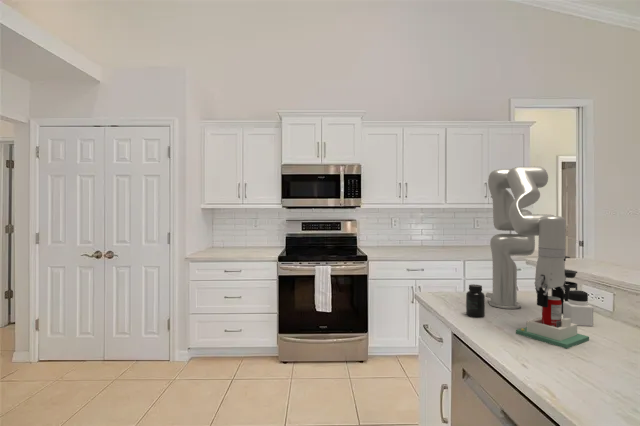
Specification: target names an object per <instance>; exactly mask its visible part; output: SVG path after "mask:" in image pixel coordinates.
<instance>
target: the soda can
mask: <svg viewBox="0 0 640 426" xmlns="http://www.w3.org/2000/svg"><path fill="white" fill-rule="evenodd" d="M562 315H563V314H562V303H561V298H558V297H553V296H551V295H548V307H542V306H541V317H542V324H545V325H549V326H553V327H557V328H558V327H561V321H562Z"/></svg>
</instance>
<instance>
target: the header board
mask: <svg viewBox="0 0 640 426" xmlns="http://www.w3.org/2000/svg"><path fill="white" fill-rule="evenodd" d="M515 335H518V336H519V335H520V336H523V337H526V338H530V339H533V340H535V341H536V340H537V341H540V342H543V343H547V344H549V345H553V346H557V347H560V348H563V349H569V348H572V347H574V346H575V347H576V346H578V345H580V344H584V343H585V342H588V341H590V336H588V335H585V334H580V333H578V325H577V324H573V323H571V319H570V318H564V319H563V318H561V327H558V328H557V327H553V326H549V325H545V324H542V316H540V317H535V318H533V319H530V320H526V327H521V328H519V329H518V328H517V329H515Z"/></svg>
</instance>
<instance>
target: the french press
mask: <svg viewBox="0 0 640 426" xmlns="http://www.w3.org/2000/svg"><path fill="white" fill-rule="evenodd" d="M566 259H571V257H570V256H568V255H565V259H564V268H565V276H566V279H573V278H575V277H576V276H577V274H578V271H577V270H573V269H566V265H565V264H566V261H567V260H566ZM564 288H565V290H564V301H568V291H570V290H571V289H575V290H578V283H577V282H574V281H569V280H568V281H567V280H566V281H565V286H564ZM553 289H554V288H552V289H550V290H551V291H550V292H551V295H550V296H553ZM547 295H548V296H549V291H548V292H547ZM568 302H569V301H568ZM561 315H563V303H562V314H561Z"/></svg>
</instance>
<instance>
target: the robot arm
mask: <svg viewBox="0 0 640 426" xmlns="http://www.w3.org/2000/svg"><path fill="white" fill-rule="evenodd" d="M487 180H488V181H487V182H488V183H487V184H488V185H487V186H488V190H489V193H490V196H491V199H492V220H493V221H492V222H493V226H494V227H493V228H495V229H496V230H498V231H505V232H508V231H510V232H513V231H514V232H515V233H499V234H494V235H493V236H492V237H491V238H490V240H489V241H490V243H489V245H490V246H489V247H490V250H491V257H492V258H491V259H492V293H491V292H486V293H485V294H484V295H485V298H489V299H490V300H489V301H488V304H489V306H491V307H495V308H499V309H506V310H515V309H520V308H521V307H522V304H521V303H520V302H517V301H518V299H517V297H518V293H517V291H518V287H517V282H518V281H517V278H518V277H517V276H518V271H517V270H518V268H517V267H518V266H517V264H516V262H515V261H514V259H513V258H512V257H513V256H524V257H525V256H526V257H527V256H531V255H533V253H534V252H535V249H536V236H538V248H537V249H538V252H537V253H538V254H537V255H538V256H537V260H536V267H535V275H534V276H535V277H534V286H535V288H534V289H535V291H536V292H535V293H536V305H537V306H538V307H541V308H542V307H548V296H549V294H548V295H547V292H548V293H549V290H551V289H552V288H553V297H558V298H561V303H563V302H564V301H565V300H564V290H565V288H564V286H565V285H566V284H565V281H567V278H566V276H565V269H566V267H565V268H564V259H565V256H566V227H567V225H566V219H565V217H564V216H557V215H554V214H538V213H537V214H535V213H532V212H531V211H530V210H528V209H526V208H528V207H529V206H532V205H534V204H536V203H537V202H538V201H539V199H540V197H541V193H540V190H539V189H541V188H544V187H545V186H546V185H548V184H547V183H548V182H549V175H548V172H547V170H546V169H545V168H544V167H542V166H516V167H512V168H499V169H495V170H492V171H491V172H490V173H489V175H488V179H487ZM508 189H510V190H511V192H510V191H509V190H508ZM511 193H512V194H511Z"/></svg>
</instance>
